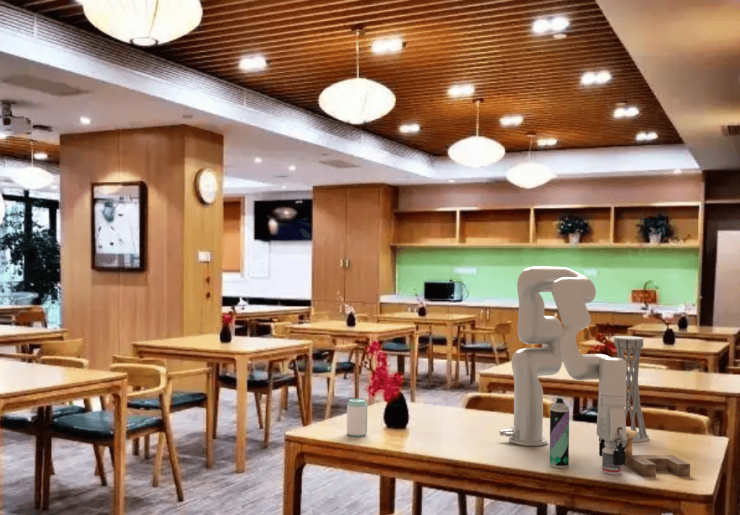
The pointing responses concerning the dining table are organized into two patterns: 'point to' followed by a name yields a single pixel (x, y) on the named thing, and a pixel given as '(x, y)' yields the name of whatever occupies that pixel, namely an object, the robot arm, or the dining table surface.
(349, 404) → the can
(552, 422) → the spray can
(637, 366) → the grey lattice tower
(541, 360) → the robot arm
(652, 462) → the notched board
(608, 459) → the pill bottle
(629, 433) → the wooden spool
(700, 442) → the dining table surface
